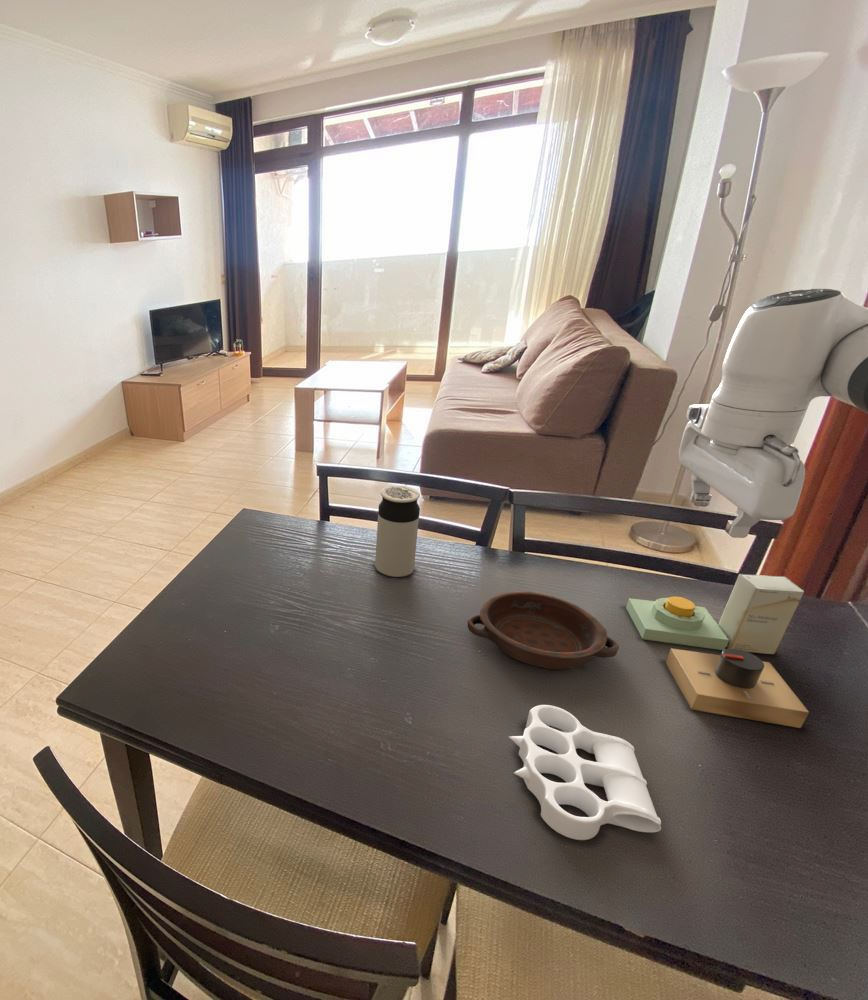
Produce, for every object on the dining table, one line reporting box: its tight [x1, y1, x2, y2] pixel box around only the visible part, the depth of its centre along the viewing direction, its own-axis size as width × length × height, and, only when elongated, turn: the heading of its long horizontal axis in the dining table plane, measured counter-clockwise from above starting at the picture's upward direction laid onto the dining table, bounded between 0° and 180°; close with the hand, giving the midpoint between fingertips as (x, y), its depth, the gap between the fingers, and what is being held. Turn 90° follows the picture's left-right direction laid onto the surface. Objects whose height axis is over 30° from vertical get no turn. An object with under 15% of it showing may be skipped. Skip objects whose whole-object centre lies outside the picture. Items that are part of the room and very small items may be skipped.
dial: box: [715, 648, 764, 688], centre depth 78 cm, size 4×4×4 cm
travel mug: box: [374, 485, 421, 578], centre depth 113 cm, size 8×8×18 cm
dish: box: [466, 590, 620, 670], centre depth 91 cm, size 18×22×5 cm
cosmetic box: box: [717, 573, 805, 655], centre depth 86 cm, size 6×4×12 cm
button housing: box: [625, 597, 729, 651], centre depth 92 cm, size 11×9×4 cm
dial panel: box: [665, 648, 810, 729], centre depth 79 cm, size 12×10×3 cm
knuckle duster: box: [508, 704, 662, 841], centre depth 69 cm, size 3×18×15 cm
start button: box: [665, 596, 696, 617], centre depth 91 cm, size 4×4×2 cm
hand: (715, 519), depth 75 cm, fingers open, 8 cm apart
